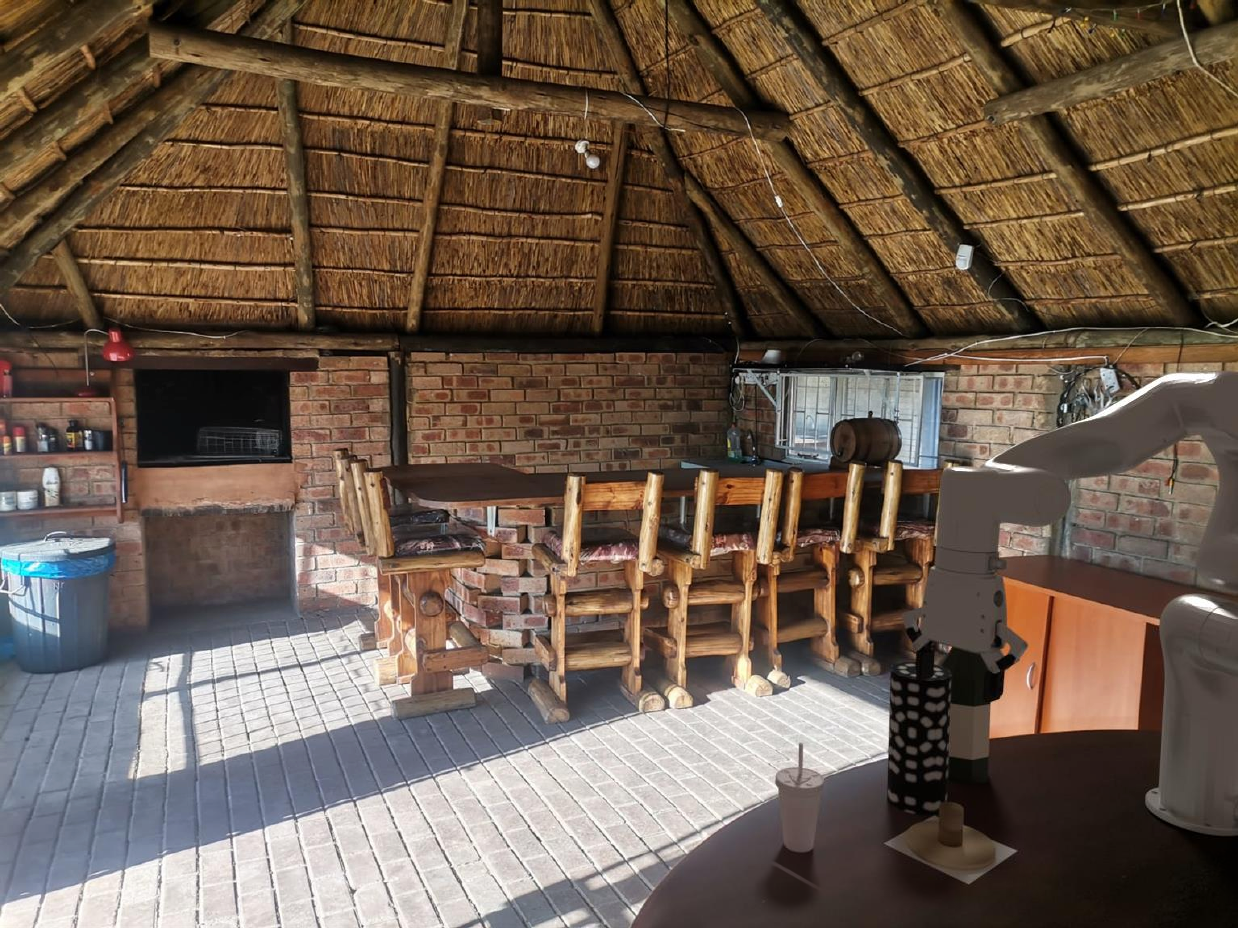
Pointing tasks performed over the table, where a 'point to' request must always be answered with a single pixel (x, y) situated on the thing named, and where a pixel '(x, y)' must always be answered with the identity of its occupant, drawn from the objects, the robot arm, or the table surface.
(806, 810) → the smoothie
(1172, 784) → the robot arm
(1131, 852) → the table surface
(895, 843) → the mat
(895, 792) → the spotted tube
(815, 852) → the table surface
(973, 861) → the lid
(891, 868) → the table surface
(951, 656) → the wine bottle
